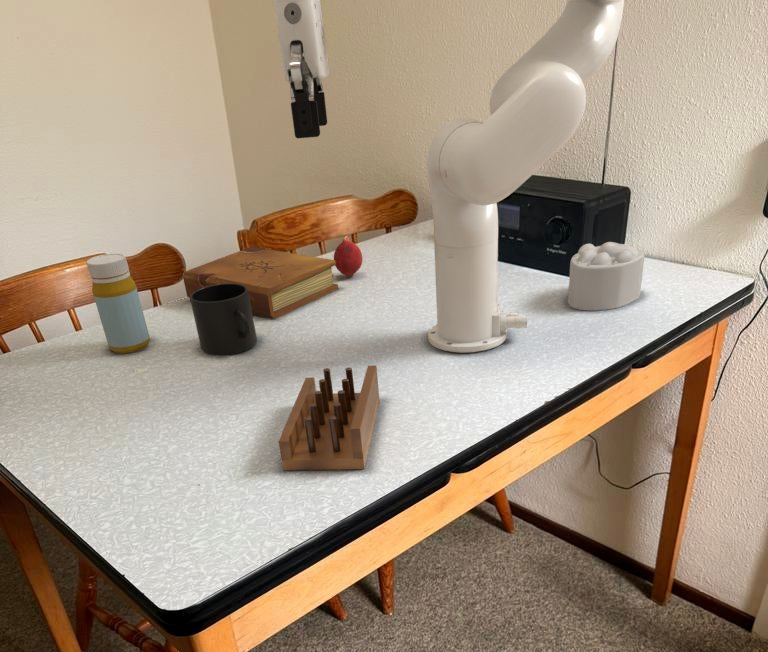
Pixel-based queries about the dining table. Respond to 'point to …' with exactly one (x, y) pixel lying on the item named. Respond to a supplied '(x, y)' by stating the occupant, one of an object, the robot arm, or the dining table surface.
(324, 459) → the rack
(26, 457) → the dining table surface
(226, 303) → the mug
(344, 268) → the onion
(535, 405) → the dining table surface
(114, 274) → the bottle
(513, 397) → the dining table surface
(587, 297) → the lumpy-topped squat cylinder
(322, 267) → the diary
